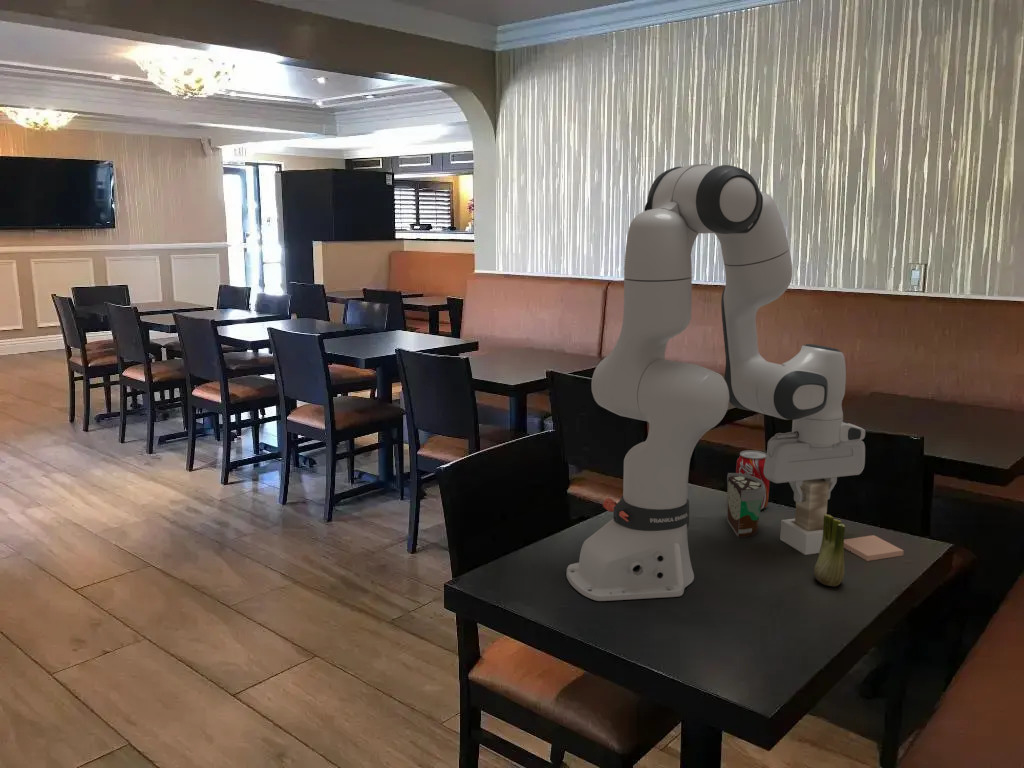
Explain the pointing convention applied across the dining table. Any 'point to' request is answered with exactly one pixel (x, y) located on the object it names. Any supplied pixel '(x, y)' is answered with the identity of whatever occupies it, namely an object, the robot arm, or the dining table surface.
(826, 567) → the fennel bulb
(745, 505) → the food container
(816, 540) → the pocket collar
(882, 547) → the terracotta tile
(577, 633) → the dining table surface
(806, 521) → the ash peg
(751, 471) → the soda can
